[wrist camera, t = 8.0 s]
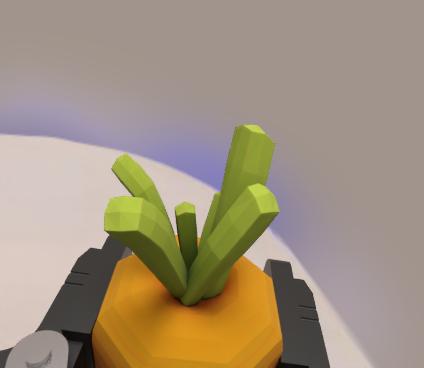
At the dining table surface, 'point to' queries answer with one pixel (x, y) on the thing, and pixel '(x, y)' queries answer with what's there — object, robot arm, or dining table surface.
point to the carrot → (192, 272)
